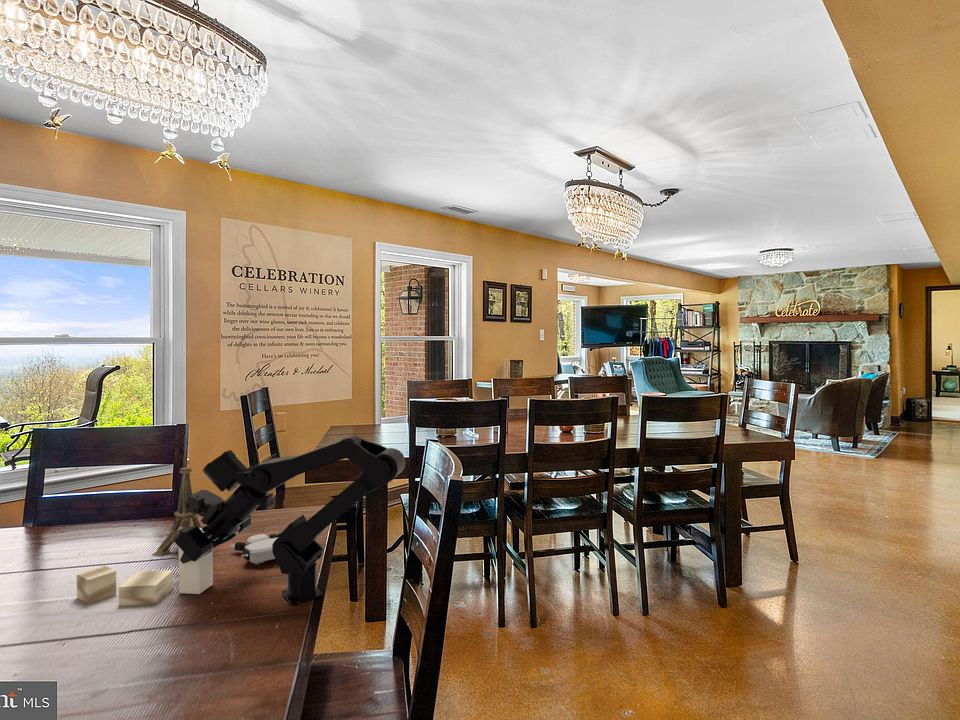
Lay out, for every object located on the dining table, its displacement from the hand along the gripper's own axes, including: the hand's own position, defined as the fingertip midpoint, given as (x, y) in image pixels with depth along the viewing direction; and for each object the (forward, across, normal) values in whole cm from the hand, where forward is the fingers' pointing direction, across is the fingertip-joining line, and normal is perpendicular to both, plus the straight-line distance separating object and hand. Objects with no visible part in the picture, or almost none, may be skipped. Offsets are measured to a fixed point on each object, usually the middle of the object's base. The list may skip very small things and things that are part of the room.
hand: (189, 557), depth 110 cm
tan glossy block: (+10, +4, 0) cm, 11 cm away
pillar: (+4, 0, +6) cm, 7 cm away
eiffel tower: (+16, -20, -6) cm, 26 cm away
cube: (+17, +5, -7) cm, 19 cm away
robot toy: (+1, -18, +10) cm, 21 cm away
